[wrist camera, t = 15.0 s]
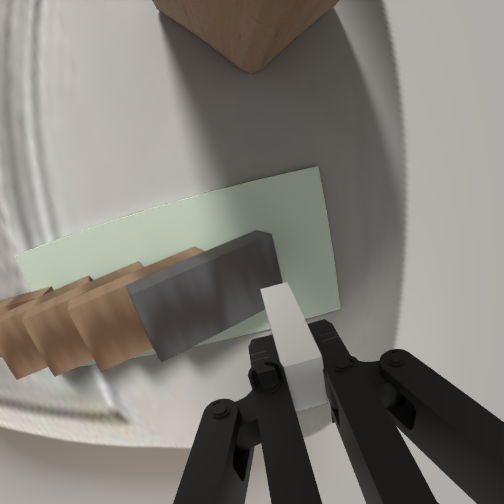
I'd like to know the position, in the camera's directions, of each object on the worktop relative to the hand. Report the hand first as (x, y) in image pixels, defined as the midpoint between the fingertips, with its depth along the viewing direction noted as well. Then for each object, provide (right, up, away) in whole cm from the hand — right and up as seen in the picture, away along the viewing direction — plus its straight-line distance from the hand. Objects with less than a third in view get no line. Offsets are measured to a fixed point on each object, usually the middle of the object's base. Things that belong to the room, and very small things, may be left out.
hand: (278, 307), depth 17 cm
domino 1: (-13, -1, +6) cm, 15 cm away
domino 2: (-9, 0, +6) cm, 11 cm away
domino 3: (-5, +1, +6) cm, 7 cm away
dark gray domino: (0, +2, +6) cm, 6 cm away
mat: (-8, +1, +7) cm, 11 cm away
